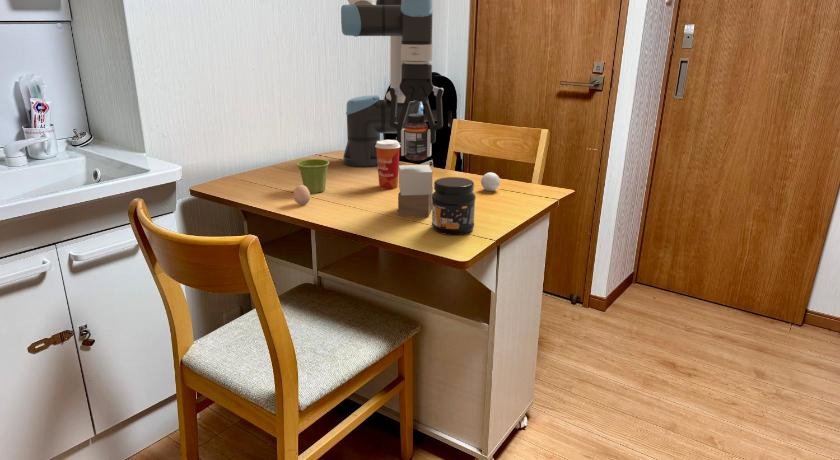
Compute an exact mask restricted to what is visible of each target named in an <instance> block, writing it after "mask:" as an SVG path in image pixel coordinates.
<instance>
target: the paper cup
mask: <svg viewBox="0 0 840 460" xmlns="http://www.w3.org/2000/svg"><path fill="white" fill-rule="evenodd" d="M375 147H376V150H377V163H378V165H377V173H378V185H379V186H378V187H379V188H380V189H382V190H394V189H397V188H398V187H399V165H400V152H401V143H400V142H398V141H397V139H382V140H381V139H380V141H377V143H376V145H375Z"/></svg>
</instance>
